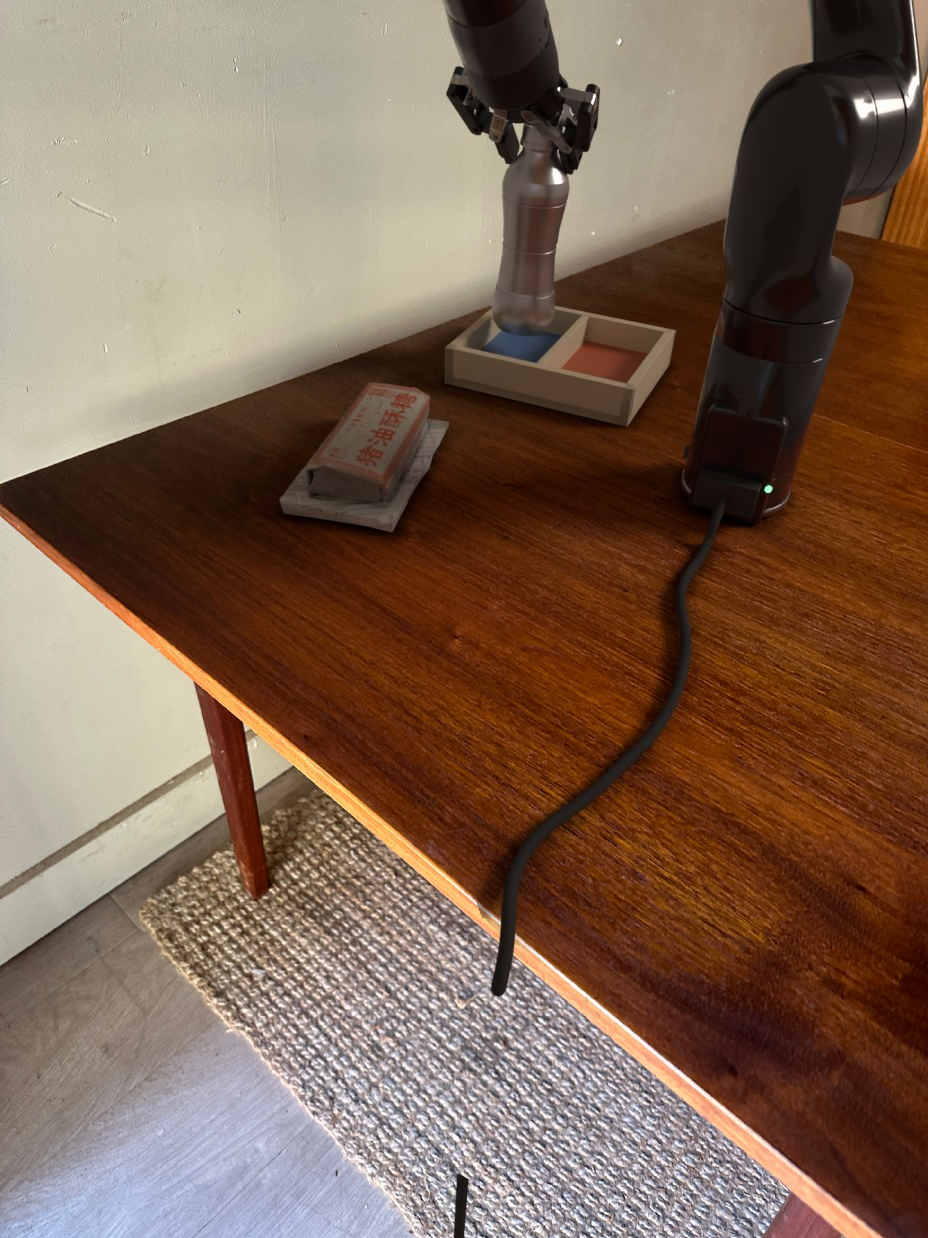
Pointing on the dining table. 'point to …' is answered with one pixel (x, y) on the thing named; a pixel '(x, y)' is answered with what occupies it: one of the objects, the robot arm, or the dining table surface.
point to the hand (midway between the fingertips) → (542, 160)
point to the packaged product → (369, 460)
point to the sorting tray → (565, 363)
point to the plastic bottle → (530, 236)
